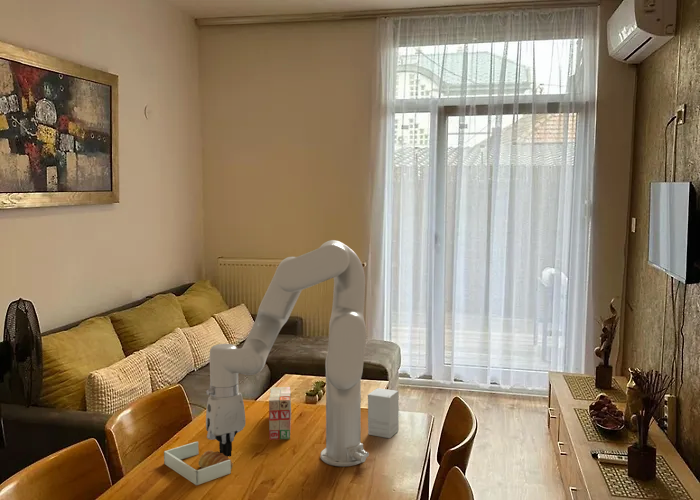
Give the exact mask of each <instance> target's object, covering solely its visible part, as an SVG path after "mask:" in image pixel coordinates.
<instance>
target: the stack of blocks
mask: <svg viewBox="0 0 700 500" xmlns="http://www.w3.org/2000/svg"><path fill="white" fill-rule="evenodd" d="M269 392H270V393H269V397H268V422H269V423H268V424H269V425H268V426H269V430H268V433H269V434H268V435H269V437H268V438H269V439H268V440H270V441H272V440H275V441H276V440H290V439H291V435H292V434H291V429H292V422H291V421H292V395H291V387H290V386H279V387H277V386H276V387H270V391H269Z"/></svg>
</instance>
